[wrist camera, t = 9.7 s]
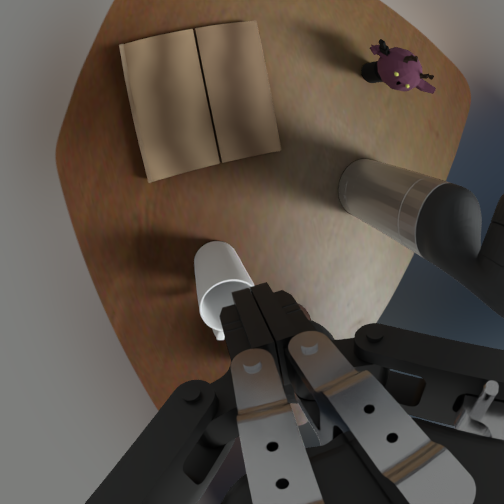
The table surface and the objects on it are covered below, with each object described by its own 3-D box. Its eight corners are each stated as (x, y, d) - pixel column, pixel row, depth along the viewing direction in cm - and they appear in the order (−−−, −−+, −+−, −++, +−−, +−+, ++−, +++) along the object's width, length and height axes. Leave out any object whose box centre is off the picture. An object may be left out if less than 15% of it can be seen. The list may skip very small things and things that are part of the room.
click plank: (191, 33, 30) (193, 28, 28) (217, 162, 38) (220, 163, 36) (120, 49, 28) (119, 44, 27) (149, 180, 36) (148, 183, 34)
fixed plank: (252, 24, 31) (256, 20, 30) (276, 149, 39) (281, 150, 37) (194, 32, 30) (195, 28, 29) (220, 161, 38) (222, 162, 36)
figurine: (342, 50, 35) (393, 34, 24) (382, 47, 36) (436, 35, 25) (356, 100, 39) (410, 99, 28) (395, 93, 39) (450, 93, 29)
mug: (196, 235, 41) (205, 275, 30) (243, 242, 43) (267, 282, 32) (185, 298, 45) (191, 351, 34) (229, 302, 47) (246, 354, 36)
